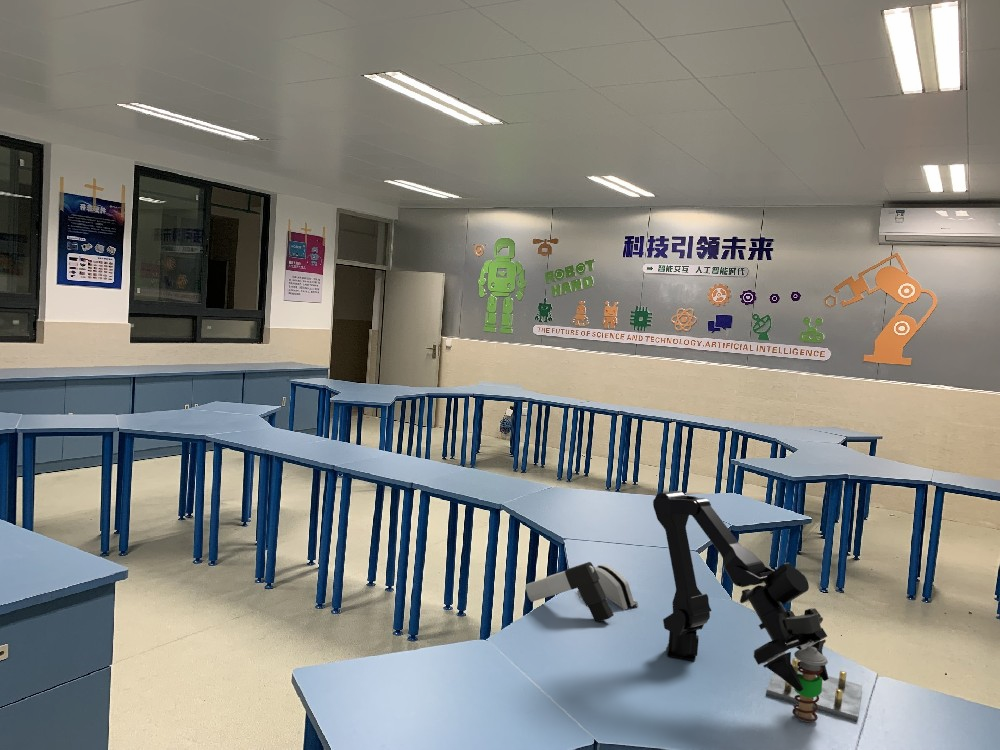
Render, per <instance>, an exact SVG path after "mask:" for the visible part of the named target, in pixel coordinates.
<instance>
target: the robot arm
mask: <svg viewBox="0 0 1000 750" xmlns="http://www.w3.org/2000/svg"><path fill="white" fill-rule="evenodd" d="M652 505H653V510H654V514H655V516H656V519H657V521H658V523H660V525H661V526H662V527H663V530H664V531H665V534H666V535H665V536H666V541H667V546H668V553H669V557H670V562H671V563H670V564H671V568H672V574H673V579H674V584H675V585H674V586H675V593H674V596H673V599H672V613H670V614H669V615H668V616H666V617H665V618H663V620H662V622H663V628H664V630H666V631H669V632H668V633H669V635H668V643H667V649H666V650H667V652H666V656H667V657H668V658H675V659H680V660H684V661H685V660H686V661H692V662H695V661H696V657H697V656H698V650H699V641H700V640H699V638H700V637H699V635H697V631H698V630H702V629H704V628H703V627H705V626H704V625H705V624H707V623H708V621H709V620H710V618H711V617H710V616H711V613H710V612H712V608H711V607H710V602H709V595H708V594H707V593H704V594H703V593H702V592H701V591H700V589H699V588H698V586H697V581H696V575H695V570H694V564H693V560H692V559H693V558H692V555H691V549H690V544H689V538H688V533H687V524H688V520H689V517H690V516H692V517H693V519H694V520H695V521H696V524H698V526H700V528H701V529H702V531H703V532H704V534H705V536H707V538H708V539H709V541H710V542H711V543H712V544H713V546H714V548H715V549H716V550H717V552H718V553H719V554H720V556H721V557H722V560H723V568H724V570H725V572H726V573H727V575H728V577H729V578H730V580H731V582H732V584H734V585H735V586H736V587H741V588H745V587H750V586H754V587H752V588H751V589H749V588H747V589H743V590H741V596H740V600H739V602H740V603H741V604H745V603H748V602H749V603H750V605H751V607H752V608H753V611H754V612H755V614H756V616H757V617H758V619H759V620H760V622H761V623H760V624H758V627H759V629H760V630H764V629H765V631H766V633H767V634H768V636H769V638H770V641H768V642H766V643H765V644H763V645H761V646H759V647H757V648H756V649H754V650H753V658H754V660H755V662H756V663H757V665H758V666H761V665H762V666H763V668H764V669H766V668H767V669H768V670H770V671H771V672H773V673H775V674H777V675H778V676H780V677H781V678H782V679H784V680H785V681H786V682H787V683H789V684H790V685H791V686H792V687H794V688H795V689H796V690H797V691H799V692H800V691H802V690H803V687H802V684H801V682H800V680H799V678H798V676H797V674H796V672H795V670H794V668H793V666H792V659H791V658H792V651H790V650H792V649H798V650H802V649H806V648H807V647H808V646H811V647H815V648H816V649H817V651H818V652H819V653H821V654H822V655H823V656H824V654H823V648H824V645H825V644H826V641H827V640H826V638H827V637H828V635H827V633H826V631H825V630H824V628H823V627H822V626H821V624H822V622H823V621H824V617H822V616H821V614H820V612H819V611H818V609H816V608H815V607H813V608H812V607H811V608H808V609H805V610H804V614H801V615H795V613H794V612H793V611H792V610H791V609H789V610H786V608H785V607H784V605H783V604H789V603H791V602H792V601H795V599H797V598H798V597H800V596H801V595H804V594H805V593H806V592H808V590H809V582H808V579H807V578H806V576H805V574H803V573H802V572H801V571H800V570H799V569H797V568H795V567H793V566H792V564H791V563H790V562H785V563H782V564H781V565H779V566H778V567H777V569H773V568H771V567H769V566H767V565H765V564H764V562H763V560H761V559H760V558H759V557H758V556H757V555H756V553H754V552H753V551H751V550H749V549H748V548H746V547H745V546H743V545H742V544H741V543H740V542H739V541H738V540H737V539H736V537H735V536H734V534H733V533H732V531H730V529H729V528H728V527H727V525H726V524H725V523H724V522H723V520H722V519H721V517H720V516H719V515H718V513H717V511H716V510H714V508H713V507H712V504H711V502H710V501H709V499H706V498H705V497H696V496H693V495H692V496H691V495H686V494H685V493H684V492H682V491H679V490H674V491H666V492H665V491H664V492H660V493H657V494H656V495H655V497H654V499H653V500H652ZM760 584H765V585H760ZM787 651H789V652H787ZM821 667H822V669H823V671H822V672H821V673H820V674H819V675H820V677H822V679H823V680H824V681H826V680H828V679H829V678H828V676H829V675H828V672H827V667H826V665H823V666H821Z"/></svg>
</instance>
